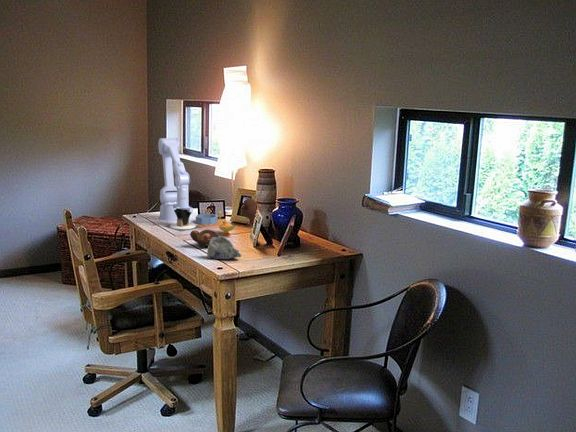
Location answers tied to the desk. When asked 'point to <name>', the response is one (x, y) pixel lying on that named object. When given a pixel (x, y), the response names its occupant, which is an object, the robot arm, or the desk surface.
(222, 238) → the mineral rock
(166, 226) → the mat
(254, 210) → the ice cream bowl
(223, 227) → the magic lamp
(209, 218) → the dish
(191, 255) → the desk surface
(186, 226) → the lid
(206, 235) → the decorative turtle
